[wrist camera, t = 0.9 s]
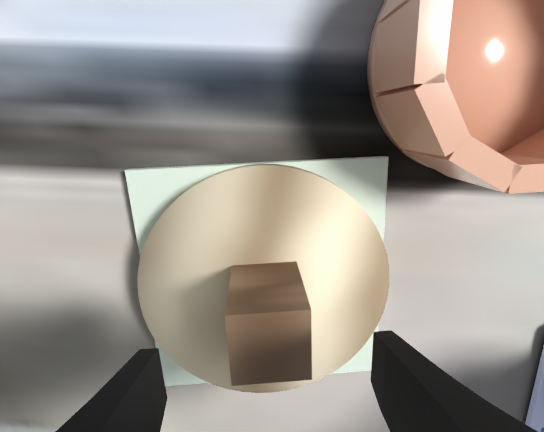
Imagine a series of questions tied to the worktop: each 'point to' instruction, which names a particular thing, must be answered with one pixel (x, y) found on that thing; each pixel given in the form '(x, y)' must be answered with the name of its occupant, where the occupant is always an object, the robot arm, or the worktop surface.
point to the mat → (176, 180)
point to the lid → (263, 278)
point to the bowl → (463, 87)
